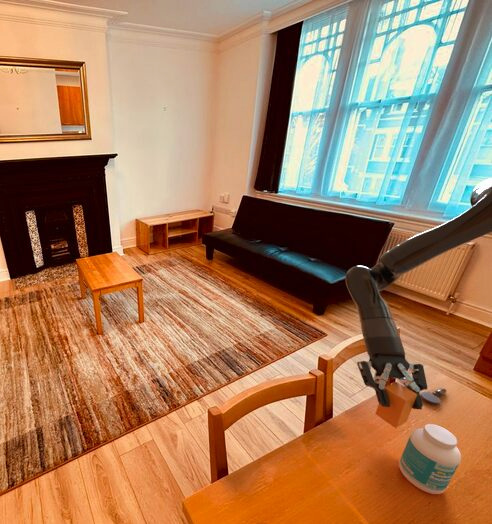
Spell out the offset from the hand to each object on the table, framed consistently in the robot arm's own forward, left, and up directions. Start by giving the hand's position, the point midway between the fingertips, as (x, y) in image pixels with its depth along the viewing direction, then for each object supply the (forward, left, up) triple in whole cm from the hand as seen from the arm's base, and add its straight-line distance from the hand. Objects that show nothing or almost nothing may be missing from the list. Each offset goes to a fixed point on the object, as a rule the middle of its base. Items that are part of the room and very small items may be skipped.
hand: (401, 407), depth 66 cm
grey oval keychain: (-20, -14, -10) cm, 26 cm away
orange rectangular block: (0, -2, -5) cm, 6 cm away
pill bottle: (0, +10, -10) cm, 14 cm away
